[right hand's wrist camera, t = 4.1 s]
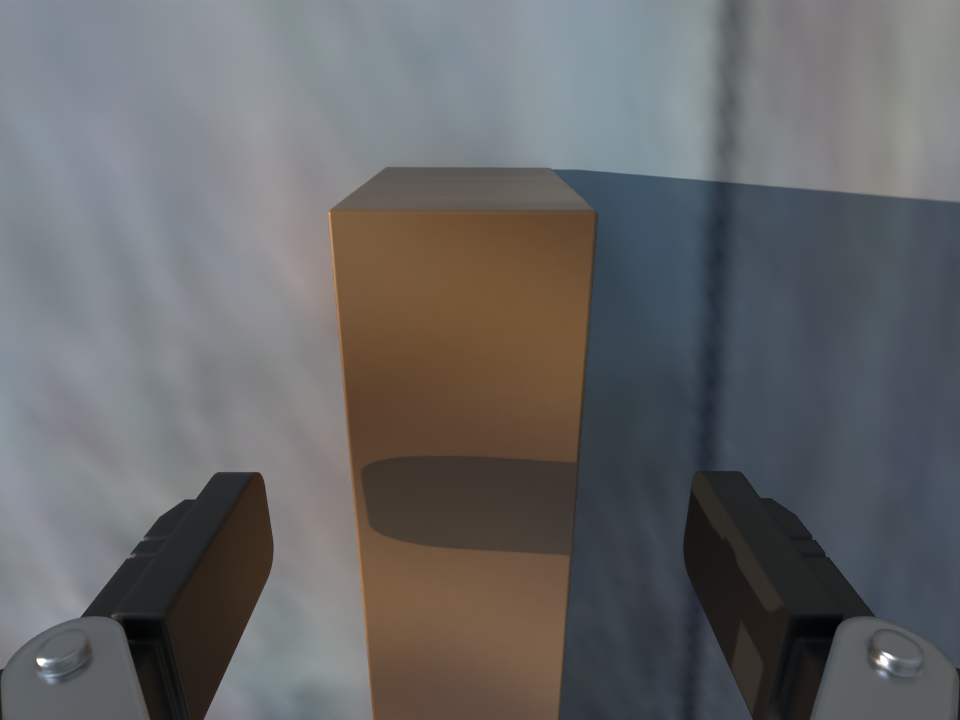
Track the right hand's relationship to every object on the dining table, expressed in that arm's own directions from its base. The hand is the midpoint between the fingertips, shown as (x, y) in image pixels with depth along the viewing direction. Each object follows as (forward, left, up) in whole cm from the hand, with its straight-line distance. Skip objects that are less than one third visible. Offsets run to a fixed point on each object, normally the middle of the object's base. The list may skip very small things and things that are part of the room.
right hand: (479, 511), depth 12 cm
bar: (+27, +19, -8) cm, 34 cm away
